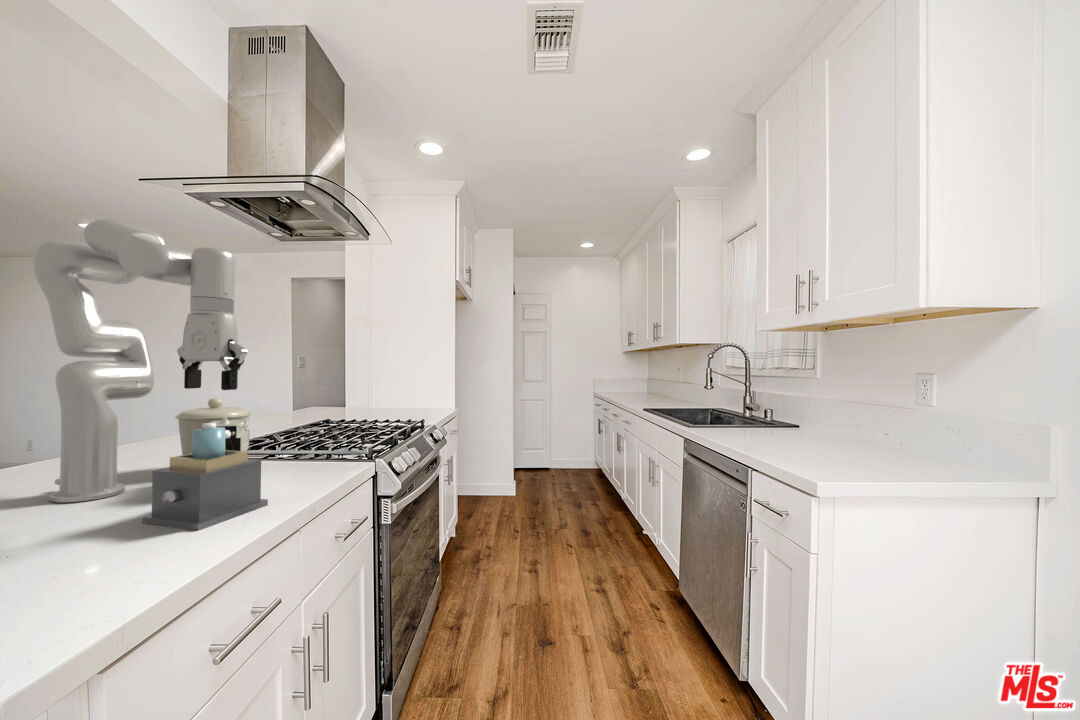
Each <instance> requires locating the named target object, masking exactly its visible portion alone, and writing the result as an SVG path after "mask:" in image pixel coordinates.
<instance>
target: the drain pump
mask: <svg viewBox="0 0 1080 720" xmlns="http://www.w3.org/2000/svg"><path fill="white" fill-rule="evenodd" d="M230 436H231V433H230V431H229V430H225V428H224V427H216V423H204V424H202V428H200V429H195V430H192V458H197V459H211V458H216V457H221V456H225V439H226V438H229V437H230Z"/></svg>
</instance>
